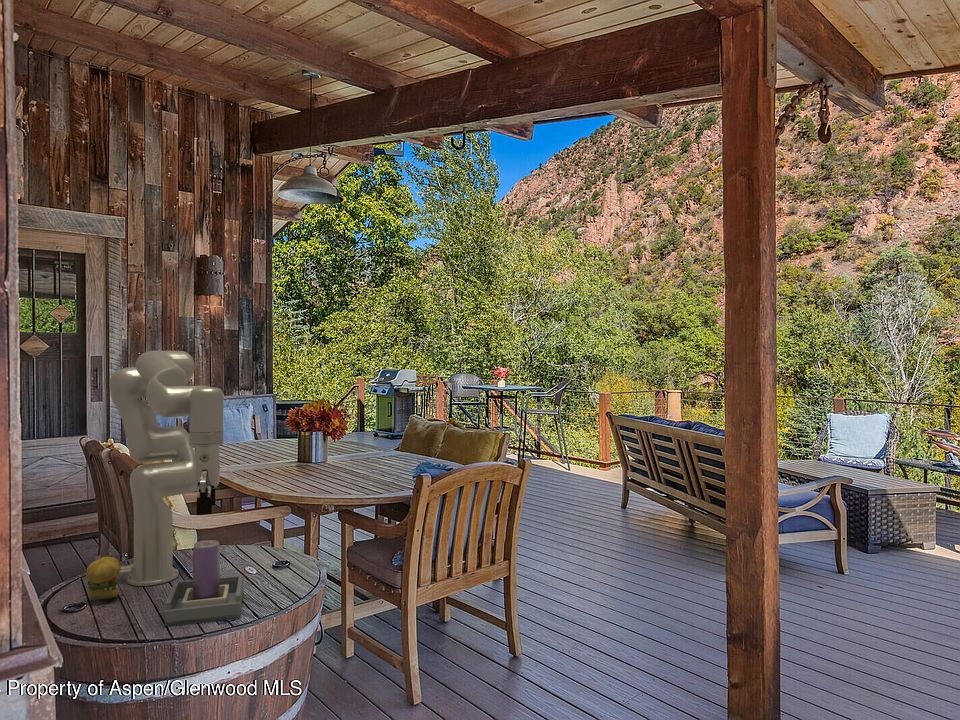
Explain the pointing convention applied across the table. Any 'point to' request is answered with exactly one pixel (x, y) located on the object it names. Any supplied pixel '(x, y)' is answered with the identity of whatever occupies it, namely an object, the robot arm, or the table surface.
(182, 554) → the table surface
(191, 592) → the box
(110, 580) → the hamburger
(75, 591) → the table surface
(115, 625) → the table surface
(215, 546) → the beverage can
